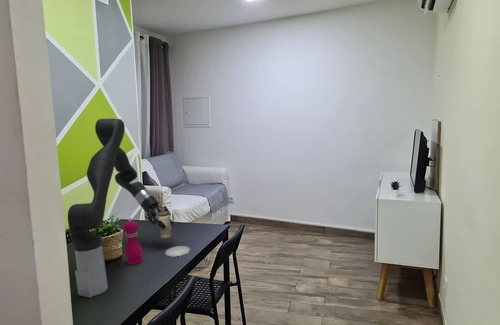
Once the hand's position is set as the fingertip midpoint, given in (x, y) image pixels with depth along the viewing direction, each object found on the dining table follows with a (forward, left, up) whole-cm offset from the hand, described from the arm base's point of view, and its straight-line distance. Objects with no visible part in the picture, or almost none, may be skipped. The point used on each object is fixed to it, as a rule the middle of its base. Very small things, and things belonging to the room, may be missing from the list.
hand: (168, 226), depth 168 cm
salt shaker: (0, +2, -5) cm, 6 cm away
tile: (-4, -7, -10) cm, 13 cm away
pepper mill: (-19, +5, -11) cm, 22 cm away
